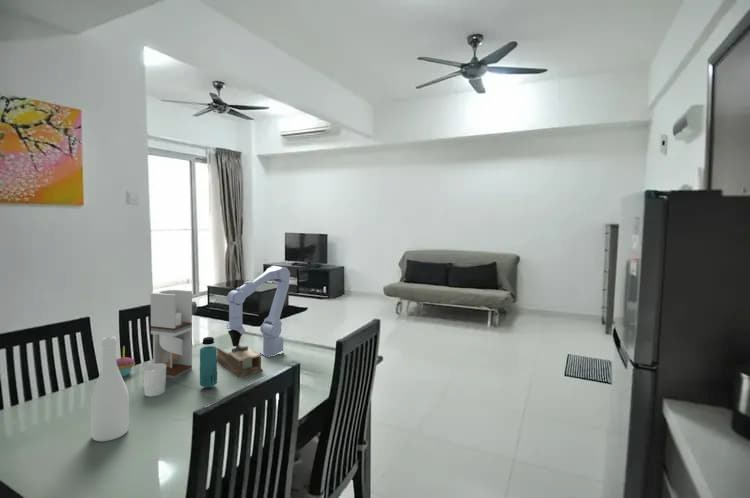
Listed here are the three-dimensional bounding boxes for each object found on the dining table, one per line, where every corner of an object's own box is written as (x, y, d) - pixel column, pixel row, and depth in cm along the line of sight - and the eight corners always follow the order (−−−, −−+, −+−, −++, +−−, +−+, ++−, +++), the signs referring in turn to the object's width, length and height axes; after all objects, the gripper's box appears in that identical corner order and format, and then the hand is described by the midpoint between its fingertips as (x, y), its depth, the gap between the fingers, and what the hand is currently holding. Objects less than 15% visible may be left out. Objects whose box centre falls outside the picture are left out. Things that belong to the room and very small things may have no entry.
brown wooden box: (238, 356, 190) (238, 343, 190) (262, 370, 173) (262, 356, 172) (215, 361, 183) (215, 347, 182) (238, 377, 165) (238, 362, 165)
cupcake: (113, 372, 166) (112, 344, 165) (136, 369, 170) (136, 342, 169) (109, 379, 158) (108, 350, 158) (133, 377, 162) (133, 348, 161)
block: (247, 365, 176) (247, 354, 176) (252, 368, 173) (252, 357, 173) (237, 367, 173) (237, 356, 173) (242, 370, 170) (242, 359, 170)
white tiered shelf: (151, 375, 164) (150, 293, 162) (170, 366, 174) (169, 289, 172) (174, 378, 161) (173, 295, 159) (191, 369, 172) (191, 290, 169)
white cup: (171, 389, 152) (170, 364, 151) (157, 398, 144) (157, 371, 143) (151, 387, 152) (151, 362, 152) (137, 396, 144) (137, 370, 144)
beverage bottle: (210, 391, 150) (211, 340, 149) (195, 389, 151) (195, 339, 150) (220, 385, 157) (221, 336, 155) (206, 383, 158) (206, 334, 157)
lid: (249, 349, 180) (249, 345, 180) (261, 356, 172) (261, 351, 172) (228, 354, 173) (228, 349, 173) (239, 361, 165) (239, 356, 165)
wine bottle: (122, 422, 126) (121, 331, 124) (133, 433, 120) (132, 337, 118) (87, 434, 118) (85, 337, 116) (97, 446, 112) (95, 344, 110)
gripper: (220, 315, 181) (220, 343, 182) (234, 321, 171) (234, 351, 172) (235, 312, 186) (235, 340, 187) (249, 318, 176) (249, 348, 176)
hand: (235, 345), depth 179 cm, fingers closed
